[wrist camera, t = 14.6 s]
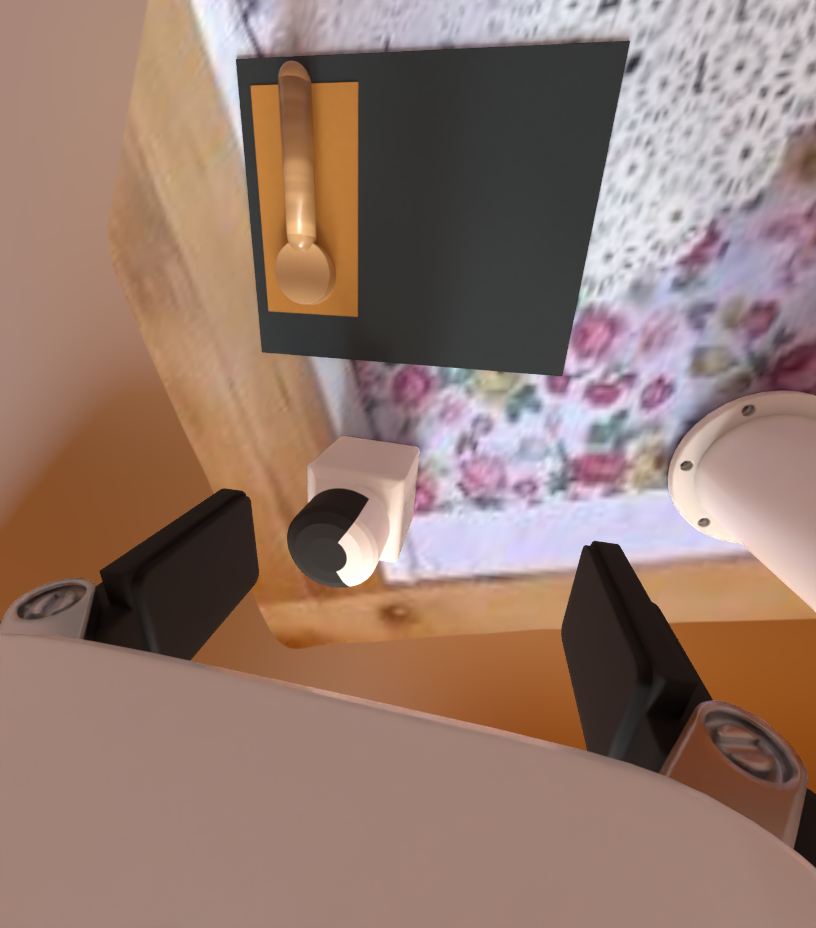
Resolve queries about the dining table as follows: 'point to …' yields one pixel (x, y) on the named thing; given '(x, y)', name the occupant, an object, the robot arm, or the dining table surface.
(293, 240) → the wooden rod with disc
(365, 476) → the container
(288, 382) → the dining table surface
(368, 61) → the mat
